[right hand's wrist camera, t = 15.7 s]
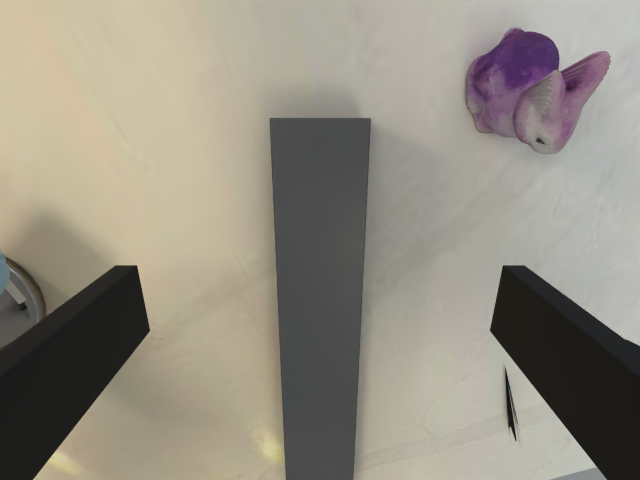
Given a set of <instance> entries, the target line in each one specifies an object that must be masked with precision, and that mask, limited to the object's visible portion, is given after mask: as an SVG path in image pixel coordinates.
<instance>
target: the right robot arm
mask: <svg viewBox="0 0 640 480" xmlns="http://www.w3.org/2000/svg"><path fill="white" fill-rule="evenodd" d="M149 331H150V328H149V323H148V318H147V313H146V308H145V303H144V298H143V293H142V288H141V283H140V278H139V273H138V268H137V266H114V267H113V268H112V269H110V270H109V271H107V272H106V273H105V274H103V275H102V276H101V277H99V278H98V279H97V280H95V281H94V282H93V283H91V284H90V285H89V286H87V287H86V288H84V289H83V290H82V291H80V292H79V293H78V294H76V295H75V296H74V297H72V298H71V299H70V300H68V301H67V302H65V303H64V304H63V305H61V306H60V307H59V308H57V309H56V310H55V311H53V312H52V313H51V314H49V315H48V316H46V317H45V318H44V319H42V320H41V321H40V322H38V323H37V324H36V325H34V326H33V327H32V328H30V329H29V330H27V331H26V332H25V333H23V334H22V335H21V336H19V337H18V338H17V339H15V340H14V341H13V342H11V343H9V344H7V345H5V346H3V347H1V348H0V480H33V479H34V478H35V476H36V475H37V474H38V472H39V471H40V470H41V469H42V467H43V466H44V465H45V464H46V462H47V461H48V460H49V458H50V457H51V456H52V455H53V453H54V452H55V451H56V450H57V448H58V447H59V446H60V445H61V443H62V442H63V441H64V439H65V438H66V437H67V436H68V434H69V433H70V432H71V431H72V429H73V428H74V427H75V425H76V424H77V423H78V422H79V420H80V419H81V418H82V417H83V415H84V414H85V413H86V411H87V410H88V409H89V408H90V406H91V405H92V404H93V403H94V401H95V400H96V399H97V398H98V396H99V395H100V394H101V392H102V391H103V390H104V389H105V387H106V386H107V385H108V384H109V382H110V381H111V380H112V378H113V377H114V376H115V375H116V373H117V372H118V371H119V370H120V368H121V367H122V366H123V364H124V363H125V362H126V361H127V359H128V358H129V357H130V356H131V354H132V353H133V352H134V351H135V349H136V348H137V347H138V345H139V344H140V343H141V342H142V340H143V339H144V338H145V337H146V335H147V334H148V333H149ZM490 331H491V333H492V334H493V335H494V337H495V338H496V339H497V340H498V342H499V343H500V344H501V345H502V347H503V348H504V349H505V351H506V352H507V353H508V354H509V356H510V357H511V358H512V359H513V361H514V362H515V363H516V364H517V366H518V367H519V368H520V370H521V371H522V372H523V373H524V375H525V376H526V377H527V378H528V380H529V381H530V382H531V384H532V385H533V386H534V387H535V389H536V390H537V391H538V392H539V394H540V395H541V396H542V398H543V399H544V400H545V401H546V403H547V404H548V405H549V406H550V408H551V409H552V410H553V411H554V413H555V414H556V415H557V417H558V418H559V419H560V420H561V422H562V423H563V424H564V425H565V427H566V428H567V429H568V431H569V432H570V433H571V434H572V436H573V437H574V438H575V439H576V441H577V442H578V443H579V445H580V446H581V447H582V448H583V450H584V451H585V452H586V453H587V455H588V456H589V457H590V458H591V460H592V461H593V462H594V464H595V465H596V466H597V467H598V469H599V470H600V471H601V472H602V474H603V475H604V476H605V478H606V479H607V480H640V346H638V345H636V344H634V343H632V342H630V341H628V340H625V339H623V338H622V337H621V336H619V335H618V334H617V333H615V332H614V331H613V330H611V329H610V328H608V327H607V326H606V325H604V324H603V323H602V322H600V321H599V320H598V319H596V318H595V317H594V316H592V315H591V314H589V313H588V312H587V311H585V310H584V309H583V308H581V307H580V306H579V305H577V304H576V303H575V302H573V301H572V300H570V299H569V298H568V297H566V296H565V295H564V294H562V293H561V292H560V291H558V290H557V289H556V288H554V287H553V286H551V285H550V284H549V283H547V282H546V281H545V280H543V279H542V278H541V277H539V276H538V275H537V274H535V273H534V272H533V271H531V270H530V269H528V268H527V267H526V266H503V268H502V273H501V278H500V283H499V288H498V293H497V298H496V303H495V308H494V313H493V318H492V323H491V328H490Z"/></svg>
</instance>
